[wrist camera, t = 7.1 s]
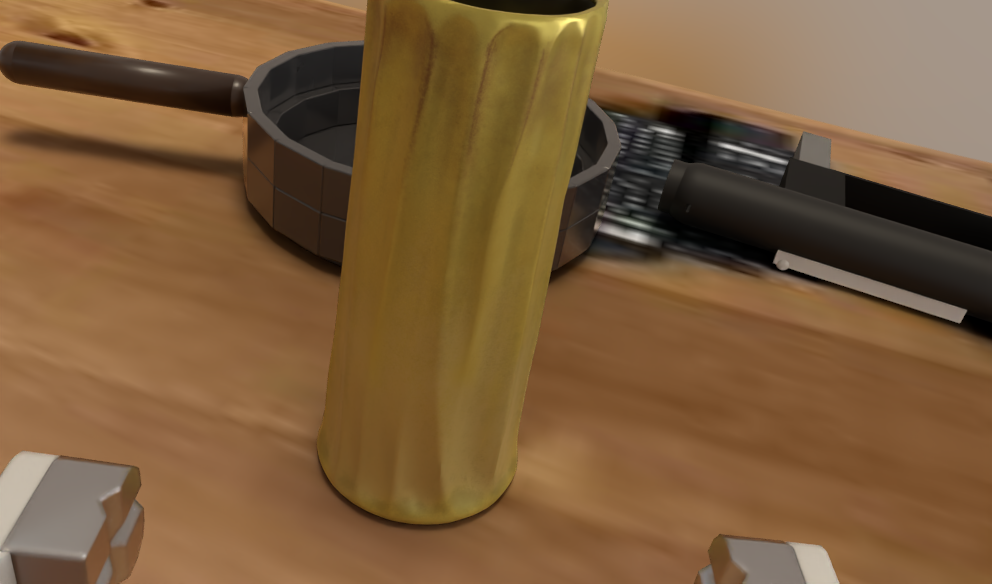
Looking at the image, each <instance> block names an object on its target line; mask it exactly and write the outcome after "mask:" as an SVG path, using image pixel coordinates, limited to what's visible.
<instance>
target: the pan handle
mask: <svg viewBox="0 0 992 584" xmlns="http://www.w3.org/2000/svg"><path fill="white" fill-rule="evenodd" d="M0 70H1V72H2V73H3V75H4V76H5V77H6V78H8V79H9V80H10V81H12V82H14V83H18V84H22V85H29V86H35V87H42V88H48V89H55V90H61V91H68V92H74V93H81V94H87V95H94V96H100V97H107V98H114V99H120V100H127V101H133V102H140V103H146V104H153V105H159V106H166V107H172V108H179V109H185V110H192V111H198V112H205V113H211V114H218V115H224V116H231V117H243V87H244V85H245V84H246V83H247V81H248V79H247V78H245V77H243V76H240V75H235V74H228V73H222V72H216V71H209V70H203V69H197V68H190V67H184V66H178V65H171V64H165V63H158V62H152V61H146V60H139V59H133V58H127V57H120V56H114V55H108V54H101V53H95V52H89V51H82V50H76V49H70V48H63V47H57V46H51V45H44V44H38V43H32V42H25V41H13V42H10V43H8V44H6V45H5V46H4V47H3V48H2V49H1V50H0Z"/></svg>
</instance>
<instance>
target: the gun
mask: <svg viewBox="0 0 992 584" xmlns="http://www.w3.org/2000/svg"><path fill="white" fill-rule="evenodd" d="M830 154H831V139H828V138H824V137H821V136H818V135H814V134H811V133H807V132H804V131H803V134H802V136H801V139H800V142H799V144H798V147H797V149H796V152H795V154H794V157H793V158H792V157H790V160H789V162H788V165H787V167H786V170H785V173H784V175H783V178H782V180H781V183H780V185H779V186H775V185H772V184H769V183H765V182H762V181H759V180H756V179H752V178H749V177H746V176H742V175H739V174H736V173H733V172H729V171H726V170H723V169H719V168H716V167H713V166H709V165H706V164H702V163H690V164H689V163H685V162H682V161H679V160H674V162H673V164H672V167H671V169H670V172H669V175H668V177H667V180H666V183H665V186H664V189H663V192H662V195H661V199H660V202H659V206H658V210H660V211H664V212H667V213H669V214H670V215H671V216H672V217H673V218H674V219H675V220H677V221H678V222H680V223H683V224H685V225H689V226H692V227H695V228H698V229H701V230H704V231H707V232H710V233H714V234H717V235H720V236H723V237H726V238H729V239H732V240H735V241H739V242H742V243H745V244H748V245H751V246H754V247H757V248H760V249H763V250H767V251H770V252H773V253H775V256H774V260H773V263H774V264H776V266H777V268H778V269H780V270H786V269H788V268H790V269H793V270H796V271H799V272H802V273H805V274H808V275H811V276H814V277H817V278H821V279H824V280H827V281H830V282H833V283H836V284H839V285H842V286H845V287H848V288H852V289H855V290H858V291H861V292H864V293H867V294H870V295H873V296H876V297H879V298H882V299H886V300H889V301H892V302H895V303H898V304H901V305H904V306H907V307H910V308H913V309H917V310H920V311H923V312H926V313H929V314H932V315H935V316H938V317H941V318H944V319H948V320H951V321H954V322H957V323H961V321H962V319H963V317H964V315H965V314H966V315H970V316H973V317H976V318H979V319H982V320H985V321H988V322H991V323H992V217H991V216H987V215H984V214H981V213H977V212H974V211H971V210H967V209H964V208H960V207H957V206H954V205H950V204H947V203H944V202H940V201H937V200H933V199H930V198H927V197H923V196H920V195H916V194H913V193H910V192H906V191H903V190H900V189H896V188H893V187H889V186H886V185H883V184H879V183H876V182H873V181H869V180H866V179H862V178H859V177H856V176H852V175H849V174H845V173H842V172H839V171H836V170H832V169H830Z"/></svg>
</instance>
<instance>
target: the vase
mask: <svg viewBox="0 0 992 584" xmlns="http://www.w3.org/2000/svg"><path fill="white" fill-rule="evenodd" d="M608 4H609V0H368V1H367V14H366V27H365V38H364V49H363V62H362V74H361V85H360V95H359V106H358V117H357V128H356V140H355V151H354V161H353V169H352V178H351V186H350V195H349V204H348V212H347V221H346V231H345V241H344V253H343V263H342V270H341V279H340V287H339V296H338V306H337V316H336V325H335V333H334V339H333V346H332V352H331V359H330V366H329V373H328V382H327V393H326V404H325V410H324V415H323V420H322V424H321V427H320V429H319V432H318V437H317V451H318V456H319V459H320V462H321V465H322V467H323V470H324V472H325V474H326V475H327V477H328V479H329V480H330V482H331V483H332V485H333V486H334V487H335V488H336V489H337V490H338V491H339V492H340V493H341V494H342V495H343V496H344V497H345V498H347V499H348V500H349V501H351V502H352V503H354V504H355V505H357V506H358V507H360V508H362V509H364V510H366V511H368V512H370V513H372V514H375V515H377V516H380V517H382V518H385V519H388V520H392V521H396V522H402V523H410V524H443V523H449V522H453V521H457V520H460V519H463V518H467V517H470V516H472V515H474V514H477V513H479V512H481V511H483V510H484V509H486V508H488V507H489V506H490V505H492V504H493V503H494V502H495V501H496V500H497V499H498V498H499V497H500V496H501V495H502V494H503V492H504V491H505V490H506V488H507V487H508V486H509V484H510V482H511V481H512V479H513V477H514V474H515V472H516V469H517V461H518V455H517V437H518V430H519V424H520V419H521V414H522V409H523V404H524V398H525V393H526V387H527V382H528V378H529V373H530V368H531V364H532V360H533V355H534V351H535V347H536V343H537V338H538V334H539V329H540V324H541V319H542V314H543V308H544V303H545V298H546V294H547V289H548V284H549V279H550V274H551V269H552V264H553V259H554V253H555V248H556V243H557V238H558V232H559V227H560V221H561V215H562V209H563V203H564V199H565V195H566V191H567V188H568V184H569V180H570V176H571V172H572V168H573V164H574V160H575V155H576V151H577V147H578V142H579V138H580V133H581V129H582V124H583V120H584V115H585V111H586V106H587V102H588V97H589V93H590V88H591V83H592V79H593V74H594V70H595V66H596V61H597V57H598V52H599V48H600V44H601V40H602V36H603V32H604V28H605V23H606V18H607V10H608Z"/></svg>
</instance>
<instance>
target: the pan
mask: <svg viewBox="0 0 992 584" xmlns="http://www.w3.org/2000/svg"><path fill="white" fill-rule="evenodd" d="M363 49H364V41H348V42H331V43H324V44H320V45H315V46H311V47H306V48H302V49H297V50H293V51H288V52H285V53H284V54H282V55H280V56H278V57H276V58H274V59H272V60H270V61H268V62H266V63H264V64H262V65H260V66H258V67H257V68H256V70H255V71H254V73H253V74H252V75H251V77H250V78H249V80H248V81H247V83H246V84H245V85H244V87H243V175H244V181H245V187H246V193H247V198H248V200H249V201H250V202H251V204H252V205H253V206H254V207H255V208H256V209H257V211H258V212H259V213H260V214H261V215H262V217H263V218H264V219H265V220H266V221H267V222H268V224H269V225H270V226H271V227H272V228H273V229H275V230H277V231H278V232H280V233H282V234H283V235H285V236H287V237H288V238H290V239H291V240H293V241H294V242H295V243H297V244H298V245H300V246H301V247H302V248H304V249H306V250H308V251H310V252H311V253H313V254H315V255H317V256H319V257H320V258H323V259H325V260H327V261H329V262H332V263H334V264H336V265H339V266H341V267H342V263H343V253H344V241H345V231H346V221H347V212H348V204H349V195H350V186H351V178H352V169H353V161H354V151H355V140H356V128H357V117H358V106H359V95H360V85H361V74H362V62H363ZM620 151H621V144H620V140H619V136H618V133H617V129H616V125H615V123H614V122H613V121H612V120H611V119H610V118H609V117H608V116H607V115H606V114H605V112H604V111H603V110H602V109H601V108H600V107H599V106H598V105H597V104H596V103H595V102H594V101H593V100H591V99H589V98H588V102H587V106H586V111H585V115H584V120H583V124H582V129H581V133H580V138H579V142H578V147H577V151H576V155H575V160H574V164H573V168H572V172H571V176H570V180H569V184H568V188H567V191H566V195H565V199H564V203H563V209H562V215H561V221H560V227H559V232H558V238H557V243H556V248H555V253H554V259H553V264H552V269H551V271H553V270H556V269H558V268H560V267H561V266H563V265H564V264H566V263H567V262H569V261H570V260H572V259H574V258H575V257H577V256H578V255H580V254H581V253H583V252H584V251H586V250H587V249H588V248H589V247H590V245H591V243H592V241H593V239H594V237H595V235H596V233H597V231H598V229H599V227H600V225H601V222H602V218H603V214H604V211H605V207H606V203H607V199H608V196H609V192H610V187H611V184H612V181H613V177H614V173H615V169H616V166H617V162H618V158H619V154H620Z"/></svg>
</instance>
